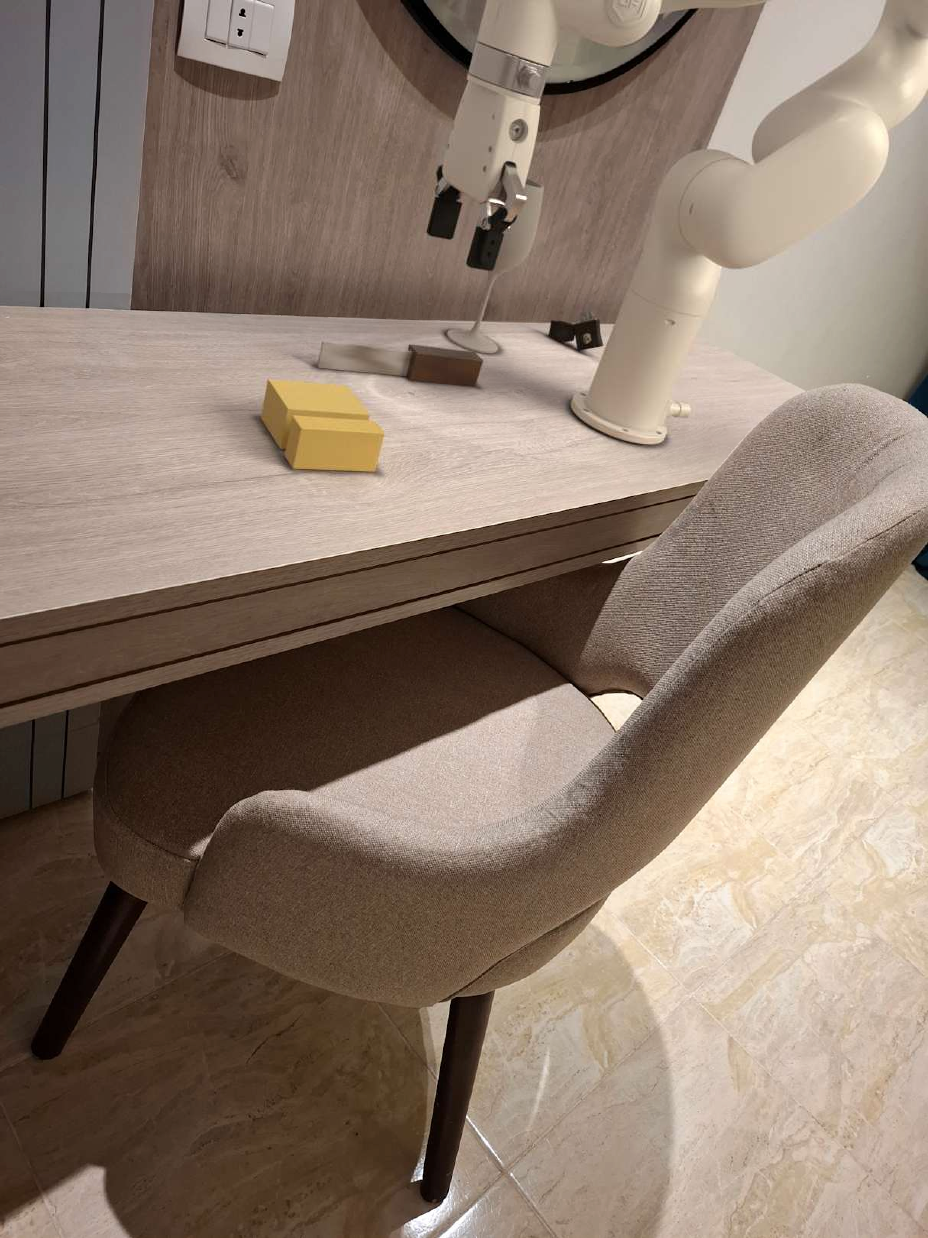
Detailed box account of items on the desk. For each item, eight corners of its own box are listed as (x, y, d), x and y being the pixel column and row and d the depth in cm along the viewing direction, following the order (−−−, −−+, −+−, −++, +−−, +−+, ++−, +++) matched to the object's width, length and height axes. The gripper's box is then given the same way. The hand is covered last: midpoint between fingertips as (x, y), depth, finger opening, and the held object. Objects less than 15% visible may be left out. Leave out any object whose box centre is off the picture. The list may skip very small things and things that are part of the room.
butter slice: (365, 459, 85) (375, 420, 83) (375, 472, 83) (385, 432, 81) (284, 455, 81) (292, 414, 79) (292, 469, 79) (300, 427, 77)
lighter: (549, 356, 136) (544, 320, 135) (555, 354, 138) (550, 319, 136) (598, 347, 132) (592, 310, 130) (603, 345, 133) (598, 309, 132)
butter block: (338, 423, 90) (347, 385, 87) (360, 452, 86) (370, 414, 83) (260, 417, 85) (267, 378, 83) (280, 449, 81) (287, 408, 79)
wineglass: (494, 358, 120) (546, 193, 109) (440, 339, 120) (487, 171, 109) (502, 343, 126) (553, 186, 115) (451, 325, 126) (497, 166, 115)
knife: (466, 378, 111) (474, 351, 109) (475, 386, 109) (483, 360, 108) (313, 362, 101) (319, 333, 99) (321, 371, 99) (327, 342, 97)
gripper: (584, 105, 85) (526, 286, 94) (497, 66, 96) (453, 231, 105) (519, 85, 81) (464, 276, 90) (436, 47, 92) (396, 220, 101)
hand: (458, 252), depth 98 cm, fingers open, 9 cm apart
